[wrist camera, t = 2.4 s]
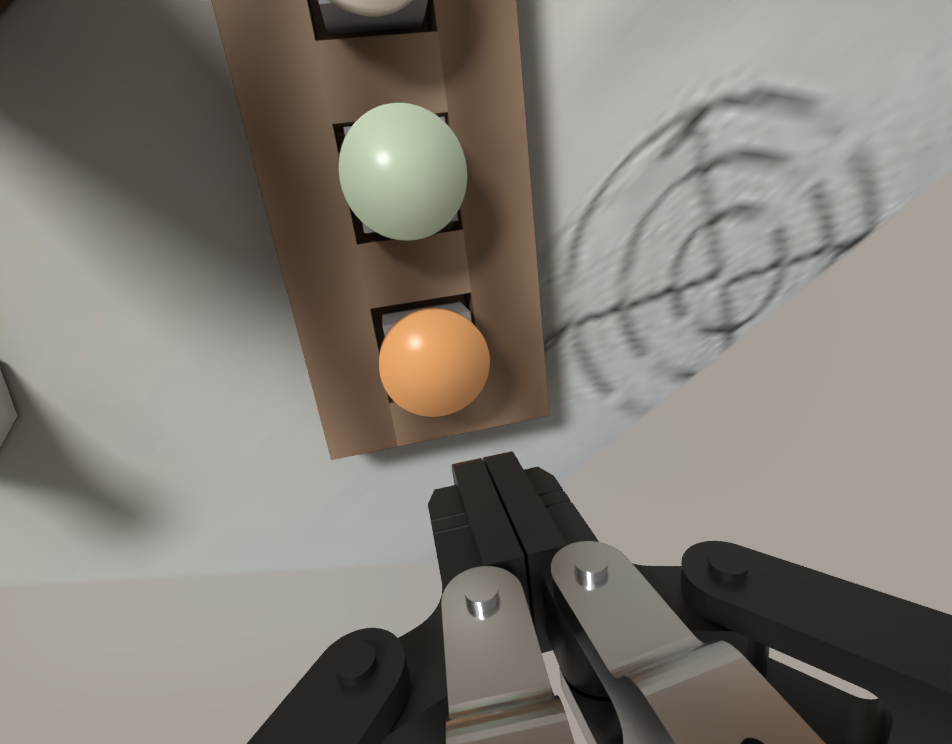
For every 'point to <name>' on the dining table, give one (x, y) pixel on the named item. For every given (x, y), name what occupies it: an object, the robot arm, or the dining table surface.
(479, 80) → the console
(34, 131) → the dining table surface
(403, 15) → the button cream
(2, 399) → the flask
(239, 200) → the dining table surface
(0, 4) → the olive oil
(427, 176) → the button sage
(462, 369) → the button orange
